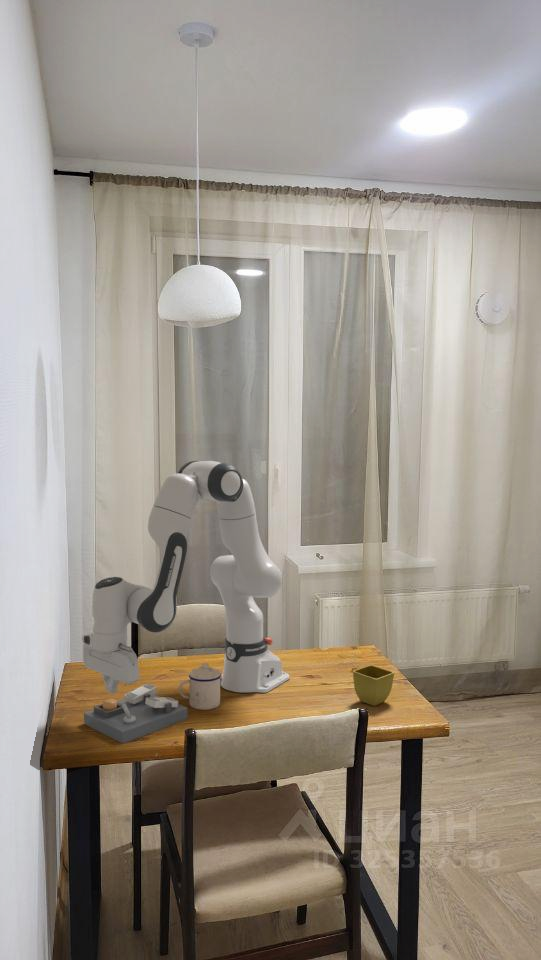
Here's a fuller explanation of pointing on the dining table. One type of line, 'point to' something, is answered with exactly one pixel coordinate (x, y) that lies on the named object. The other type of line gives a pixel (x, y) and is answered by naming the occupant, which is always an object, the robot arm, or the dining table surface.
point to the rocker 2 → (160, 702)
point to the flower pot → (373, 684)
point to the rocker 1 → (140, 693)
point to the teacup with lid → (203, 687)
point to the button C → (109, 704)
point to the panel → (133, 719)
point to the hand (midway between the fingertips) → (111, 691)
